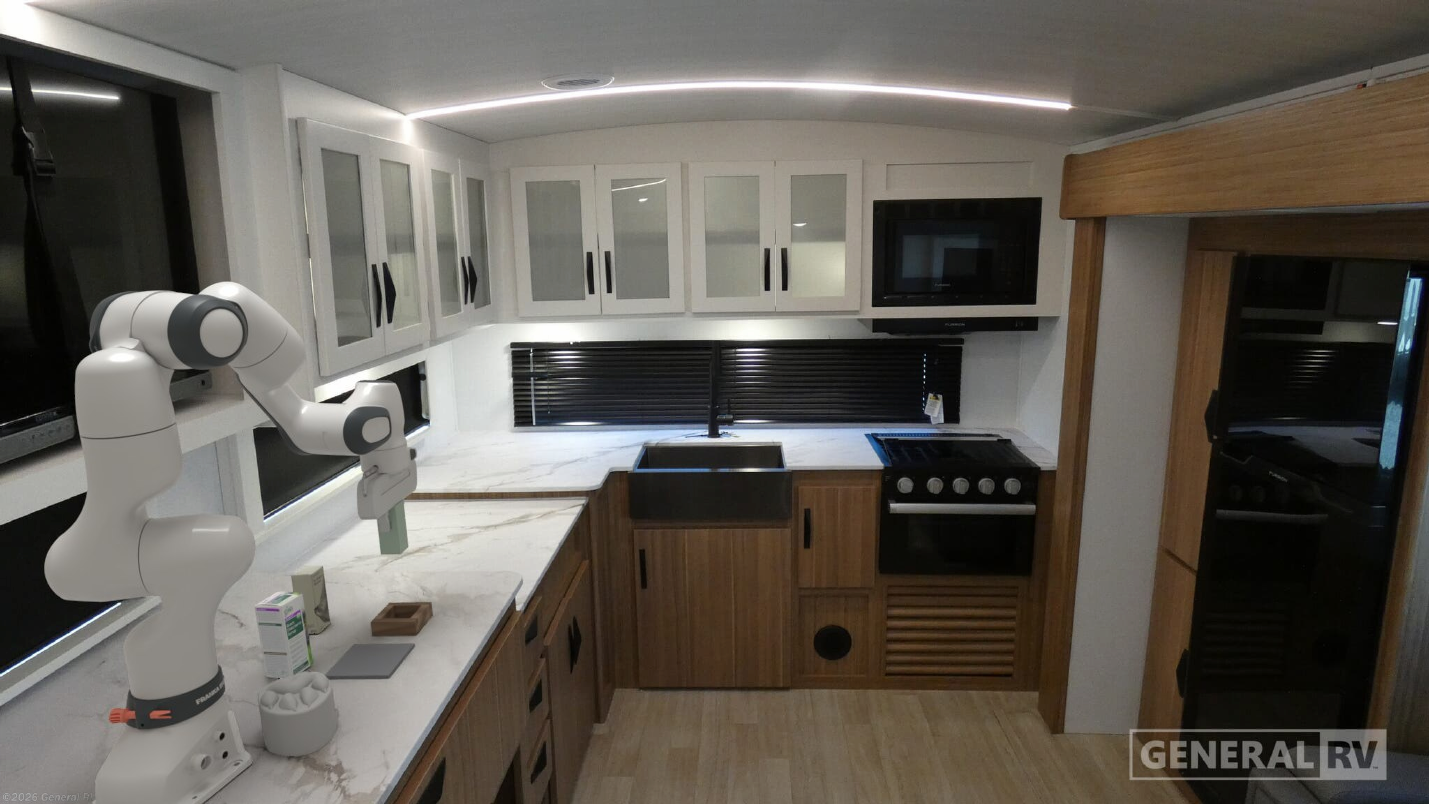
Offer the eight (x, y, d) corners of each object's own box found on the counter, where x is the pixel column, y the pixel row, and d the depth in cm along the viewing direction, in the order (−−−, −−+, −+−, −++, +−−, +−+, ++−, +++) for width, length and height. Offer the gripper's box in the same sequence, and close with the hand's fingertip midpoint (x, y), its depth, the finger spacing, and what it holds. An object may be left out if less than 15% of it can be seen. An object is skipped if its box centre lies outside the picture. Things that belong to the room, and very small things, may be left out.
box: (319, 634, 167) (311, 574, 165) (297, 635, 167) (289, 575, 165) (331, 622, 172) (324, 564, 170) (310, 623, 173) (303, 565, 170)
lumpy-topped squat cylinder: (328, 705, 141) (321, 659, 139) (345, 741, 131) (339, 691, 129) (259, 728, 135) (252, 679, 133) (272, 767, 125) (264, 714, 123)
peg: (400, 554, 165) (395, 506, 163) (380, 554, 165) (375, 506, 163) (408, 547, 169) (403, 500, 167) (389, 547, 169) (383, 500, 167)
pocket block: (416, 635, 166) (414, 621, 165) (372, 635, 166) (370, 622, 165) (432, 615, 174) (431, 601, 174) (390, 615, 175) (389, 602, 174)
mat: (389, 678, 149) (388, 675, 149) (323, 679, 150) (323, 676, 150) (415, 646, 161) (414, 643, 161) (354, 646, 162) (354, 644, 161)
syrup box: (292, 680, 150) (282, 605, 147) (264, 677, 151) (253, 603, 148) (313, 664, 155) (304, 592, 152) (286, 662, 156) (276, 590, 154)
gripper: (377, 473, 153) (385, 544, 156) (420, 446, 173) (426, 510, 176) (344, 474, 153) (352, 545, 156) (390, 447, 173) (397, 510, 176)
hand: (392, 526), depth 166 cm, fingers closed on peg, 4 cm apart
